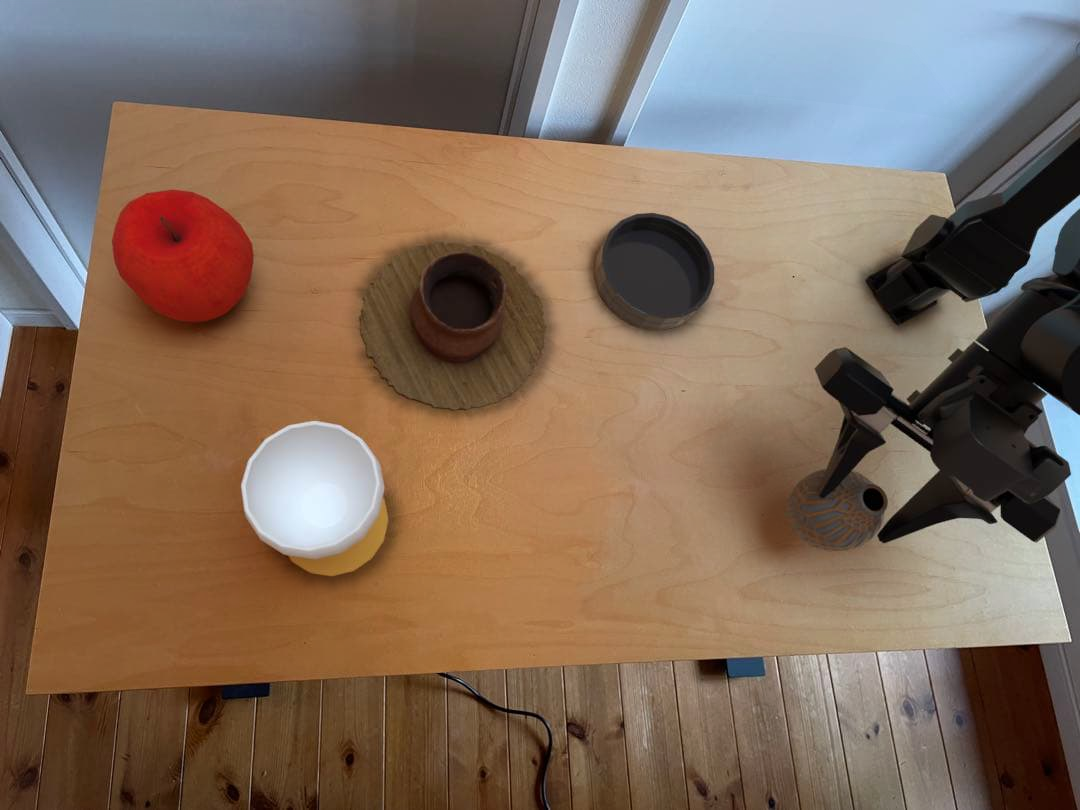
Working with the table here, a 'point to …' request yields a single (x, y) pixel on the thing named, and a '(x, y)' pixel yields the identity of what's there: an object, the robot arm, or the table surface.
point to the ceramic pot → (453, 325)
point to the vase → (836, 512)
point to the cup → (317, 497)
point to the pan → (654, 271)
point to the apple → (182, 254)
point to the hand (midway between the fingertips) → (849, 517)
